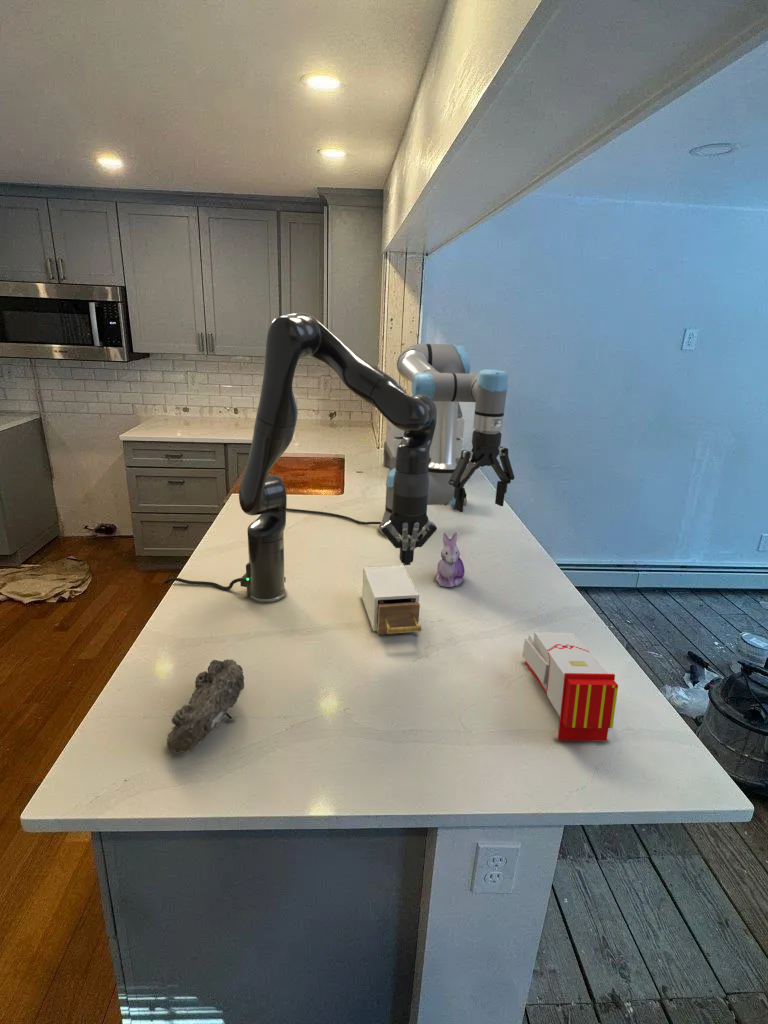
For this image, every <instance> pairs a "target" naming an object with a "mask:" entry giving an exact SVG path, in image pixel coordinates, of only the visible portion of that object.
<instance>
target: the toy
mask: <svg viewBox="0 0 768 1024" xmlns="http://www.w3.org/2000/svg"><path fill="white" fill-rule="evenodd" d="M522 658H523V659H524V664H525V665H526V666H527V669H529V671H530V672H531V674H532V675H533V677H534V679H535V680H536V681H537V682H538V685H540V687H541V689H542V690H543V692H544V693H545V694H546V696H547V698H548V700H549V701H550V703H551V705H552V706H553V708H554V710H555V711H556V713H557V715H558V716H559V722H558V733H557V740H558V741H572V742H573V741H577V742H578V741H580V742H581V741H582V742H583V741H584V742H585V741H586V742H607V741H608V735H609V734H608V733H609V729H613V727H614V719H615V712H616V705H617V698H618V697H617V696H618V689H619V684H618V683H617V682H616V681H615V678H616V675H615V673H608V672H607V671H606V669H605V668H604V667H603V665H602V664H601V663H600V662H599V661H598V660H597V659H596V657H595V656H594V655H593V653H591V652H590V650H589V649H588V648H587V646H585V645H584V643H583V642H582V641H581V640H580V639H579V638H578V637H577V635H576V634H575V633H574V632H541V631H540V632H537V631H535V632H533V633H528V637H526V638H524V641H523V649H522Z"/></svg>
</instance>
